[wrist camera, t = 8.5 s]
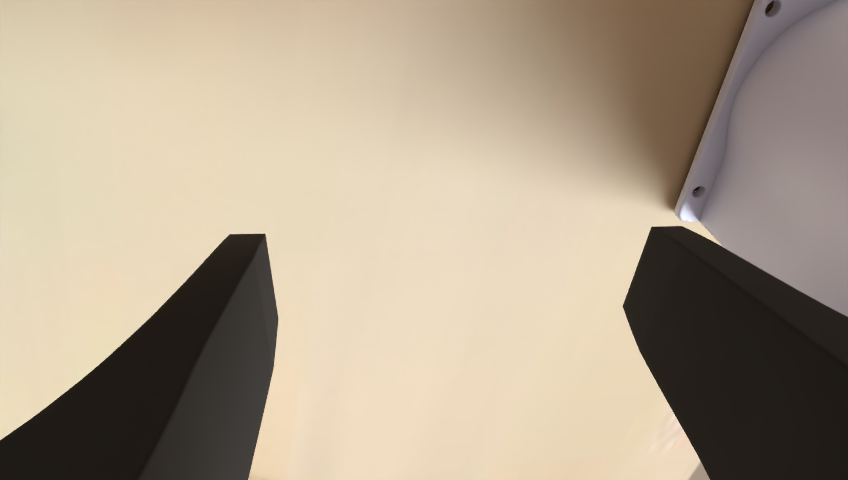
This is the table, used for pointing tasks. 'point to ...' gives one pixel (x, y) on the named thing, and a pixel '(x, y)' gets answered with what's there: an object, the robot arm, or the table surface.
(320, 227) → the table surface
